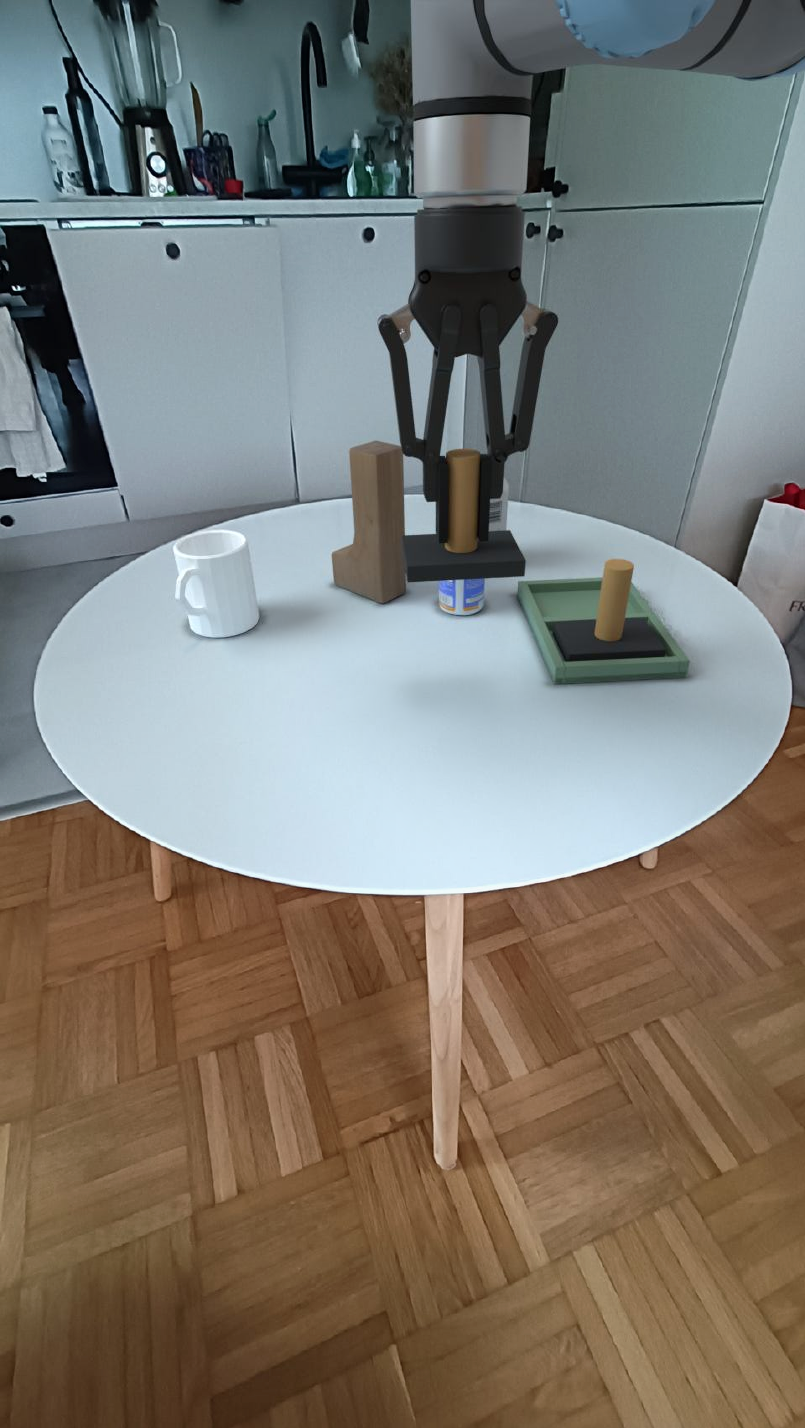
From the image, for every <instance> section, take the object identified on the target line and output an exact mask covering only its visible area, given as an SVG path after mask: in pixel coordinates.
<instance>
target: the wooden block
mask: <svg viewBox="0 0 805 1428" xmlns="http://www.w3.org/2000/svg"><path fill="white" fill-rule="evenodd" d="M348 454H349V468H350V469H349V470H350V471H349V472H350V485H351V486H350V487H351V498H352V500H351V501H352V502H351V504H352V515H353V516H352V517H353V518H352V519H353V531H354V534H353V540H352V543H351V544H349V545H347V546H344V547H341V548H339V549H337V550H334V551H332V552H331V563H332V565H331V566H332V575H333V583H334V585H336V586H338V587H340V588H343V589H344V590H347V591H350V592H352V593H355V594H357V595H359V596H362V597H364V598H367V599H370V600H372V601H374V602H376V603H379V604H385V603H386V604H387V602H390V601H391V600H394V599H395V598H397V597H400V596H402V595H404V594H405V593H406V592H407V577H406V571H405V565H404V560H403V554H402V535H406V522H405V521H406V520H405V519H406V518H405V476H404V475H405V474H404V471H405V470H404V454H403V452H402V448H401V445H397V444H393V443H389V442H384V441H380V440H372V441H369V442H365V443H363V444H359V445H356V446H353V447H350V448H349V450H348Z"/></svg>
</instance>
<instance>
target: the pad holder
mask: <svg viewBox="0 0 805 1428" xmlns="http://www.w3.org/2000/svg"><path fill="white" fill-rule="evenodd" d="M602 579H603V576H602V577H601V576H600V577H585V578H584V577H583V578H582V577H581V578H580V577H579V578H562V579H561V578H560V579H559V578H557V579H537V580H536V579H535V580H522V581H521V580H520V581H519V580H518V581H517V591H516V597H517V600H518V602H519V604H520V607H521V609H522V611H523V614H524V616H525V619H526V621H527V624H528V625H529V628H530V630H531V633H532V635H533V638H534V641H535V642H536V645H537V647H538V650H539V652H540V655H541V657H542V659H543V662H544V663H545V666H546V668H547V671H548V673H549V676H550V678H551V681H552V683H553V684H555V685H558V684H559V685H560V684H562V685H563V684H579V683H581V684H583V683H599V682H600V683H602V682H620V681H641V680H660V679H661V680H662V679H679V678H680V679H681V678H687V675H688V670H689V667H690V664H691V663H690V662H691V660H690V658H688V656H687V655H686V653H685V652H684V650H683V649H682V648H681V647H680V645H679V644H678V643H677V641H676V640H675V639H674V637H673V636H672V634H671V633H670V632H669V631H668V629H667V628H666V626H665V625H664V624H663V623H662V621H661V620H660V618H659V617H658V615H657V614H656V612H654V610H653V609H652V608H651V606H650V604H649V603H648V602H647V601H646V599H645V598H644V597H643V596H642V594H641V593H640V591H639V590H638V589H637V586H635V584H634V583H633V582H632V581H631V586H630V592H629V598H628V603H627V609H626V615H625V619H628V618H644V619H645V620H646V622H647V623H648V625H649V626H650V627H651V629H652V630H653V632H654V633H655V635H656V636H657V637H658V639H659V640H660V642H661V643H662V645H663V646H664V647H665V649H666V652H665V657H655V658H634V659H614V660H593V661H573V662H565V660H564V657H563V655H562V653H561V651H560V649H559V647H558V644H557V642H556V640H555V638H554V636H553V634H552V633H553V624H554V622H565V621H586V620H597V613H598V606H599V600H600V593H601V586H602Z"/></svg>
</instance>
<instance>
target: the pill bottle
mask: <svg viewBox="0 0 805 1428" xmlns="http://www.w3.org/2000/svg"><path fill="white" fill-rule="evenodd" d="M485 580H486V578H485V579H466V580H446V581H438V604H439V607H440V609H441V610H442V611H444V613H448V614H450V615H455V616H470V615H473V614H476V613H477V612H480V611H481V610H482V609H483V607H484V604H485V603H484V602H485V584H486V583H485V582H486V581H485Z"/></svg>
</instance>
